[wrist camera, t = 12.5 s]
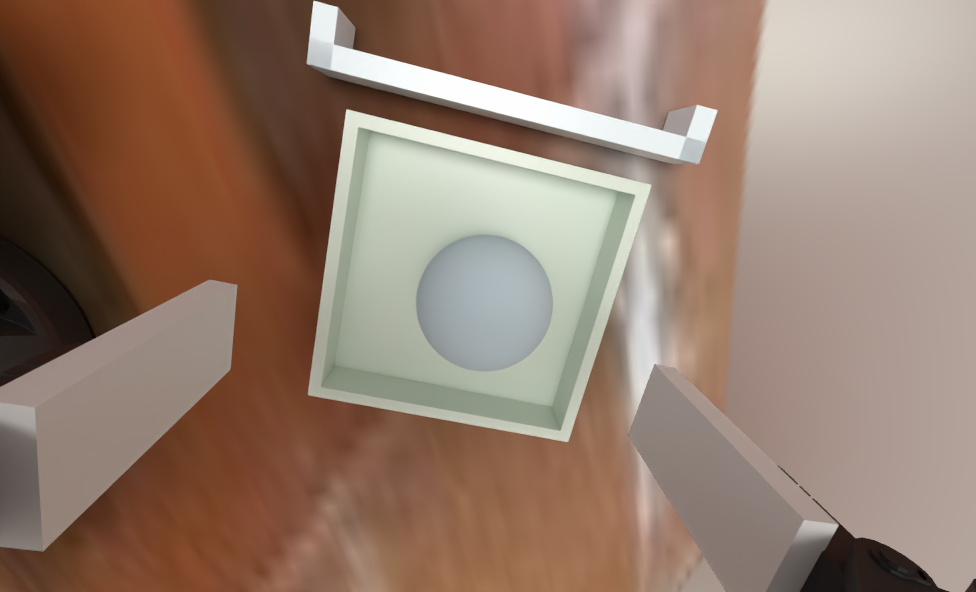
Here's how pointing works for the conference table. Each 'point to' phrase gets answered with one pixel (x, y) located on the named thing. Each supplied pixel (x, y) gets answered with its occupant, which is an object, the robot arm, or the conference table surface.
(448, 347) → the ball
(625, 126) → the white bar handle
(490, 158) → the tray
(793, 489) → the robot arm
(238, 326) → the conference table surface
